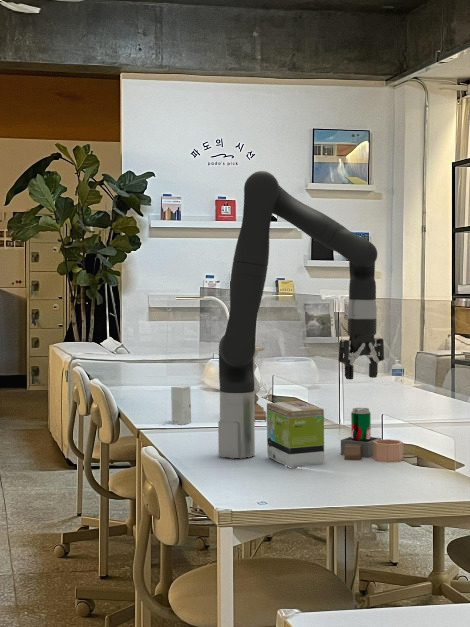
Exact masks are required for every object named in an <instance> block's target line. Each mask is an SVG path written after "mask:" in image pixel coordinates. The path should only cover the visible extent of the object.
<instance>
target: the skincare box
mask: <svg viewBox="0 0 470 627" xmlns="http://www.w3.org/2000/svg"><path fill="white" fill-rule="evenodd" d="M170 389H171V392H170V393H171V396H170V397H171V398H170V399H171V424H172V423H173V424H172V425H175V424H178V425H177V426H183V425H186V424H190V423H189V422H191V423H192V411H191V410H192V403H191V402H192V401H191V398H192V397H191V385H189V384H188V385H186V384H185V385H183V384H182V385H181V384H179V385H174V386H171V387H170Z"/></svg>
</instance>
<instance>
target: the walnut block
mask: <svg viewBox="0 0 470 627" xmlns="http://www.w3.org/2000/svg"><path fill="white" fill-rule="evenodd" d="M343 457H344V459H343V460H345V461H361V459H362V457H361V445H357V444H346V445H345V447H344V455H343Z"/></svg>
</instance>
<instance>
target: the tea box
mask: <svg viewBox="0 0 470 627" xmlns="http://www.w3.org/2000/svg"><path fill="white" fill-rule="evenodd" d="M324 413H325V409H324V408H322V407H319V406H315V405H312V404H310V403H306V402H303V401H301V400H298V401H297V400H296V401H279V402H272V403H271V402H267V403H266V438H267V440H266V441H267V443H266V445H267V448H266V449H267V450H266V451H267V458H269V459H272V460H274V461H275V462H277V463H279V464H281V463H282V464H281V465H287V466H289V467H296V466H309V465H319V464H320V465H321V464H325V414H324Z"/></svg>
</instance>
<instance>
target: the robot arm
mask: <svg viewBox="0 0 470 627" xmlns="http://www.w3.org/2000/svg"><path fill="white" fill-rule="evenodd" d="M273 215H275V216H277V217H279V218H281V219H283V220H285V221H286V222H288V223H290V224H291V225H293V226H294V227H296V229H298V230H300V231H301V232H302V233H305V234H306V235H307V236H308V237H310V238H312V239H313V240H314V241H316V242H318V243H319V244H321V245H322V246H324V247H326V248H327V249H329V250H331V251H333V252H335V253H336V252H337V253H338V254H339V255H341V256H342V257H343V258H345V259H347V260H348V263H349V264H348V266H349V268H348V269H349V286H348V287H349V288H348V307H347V335H348V336H349V338H348V339H340V340H339V346H338V347H339V348H338V362H339V363H341V364H344V377H345V379H346V380H349V381H350V380H353V379H354V363H355V361H356V360H357V359H358V358H359V357H361V356H365V357H366V358H367V359H368V361H369V363H368V377H369V378H372V379H375V378H377V376H378V374H379V373H378V368H379V367H378V366H379V365H378V364H379V363H380V362H382V361H384V360H385V350H384V346H385V345H384V339H383V338H381V337H375V336H376V335H377V322H378V320H377V316H378V314H377V312H378V311H377V310H378V307H377V283H376V278H375V273H376V272H375V271H376V270H375V269H376V261H377V258H378V250H377V248H376V246H375V245H374V243H373V242H370V241H369V240H368V239H365V238H364V237H362V236H360V235H358V234H357V233H354V232H353V231H350V230H349V229H348V228H346V227H345V226H344V225H343V224H340V223H339V222H338V221H336V220H334V219H333V218H331V217H330V216H328V215H327V214H325V213H323V212H321V211H319V210H317V209H315V208H313V207H312V206H309V205H307V204H305V203H303V202H302V201H300V200H298V199H297V198H295V196H294V197H293V196H292V195H291V194H289V192H287V191H286V190H285V189H284V188H283V187H281V185H280V184H279V182H278V180H277V178H276V177H275V176H274V175H273V174H271V172H268V171H265V170H259V171H255V172H254V173H252V174H251V175H249V176H248V177H247V179H246V181H245V183H244V186H243V208H242V220H241V227H240V231H239V233H238V236H237V237H238V238H237V241H236V246H235V250H234V255H233V260H232V266H231V274H230V284H229V304H230V305H229V315H228V320H227V324H226V329H225V331H224V332H225V333H224V335H222V337H221V339H220V340H219V344H218V379H219V421H218V432H217V433H218V435H217V436H218V437H217V438H218V440H217V441H218V442H217V444H218V457H219V456H223V457H222V458H225V457H230V458H229V459H234V458H240V459H247V458H246V457H248V458H251V457H252V456H253V457H254V456H255V454H256V452H255V451H256V446H255V445H256V444H255V443H256V434H255V430H256V429H255V427H256V425H255V424H256V422H255V405H254V402H255V394H254V390H255V383H254V375H255V372H254V373H253V356H254V354H255V346H256V337H257V323H258V322H257V321H258V315H259V314H258V313H259V309H260V306H261V302H262V297H263V294H264V291H265V290H264V289H265V284H266V278H267V272H268V266H269V259H270V258H269V256H270V228H271V223H272V218H273Z"/></svg>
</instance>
